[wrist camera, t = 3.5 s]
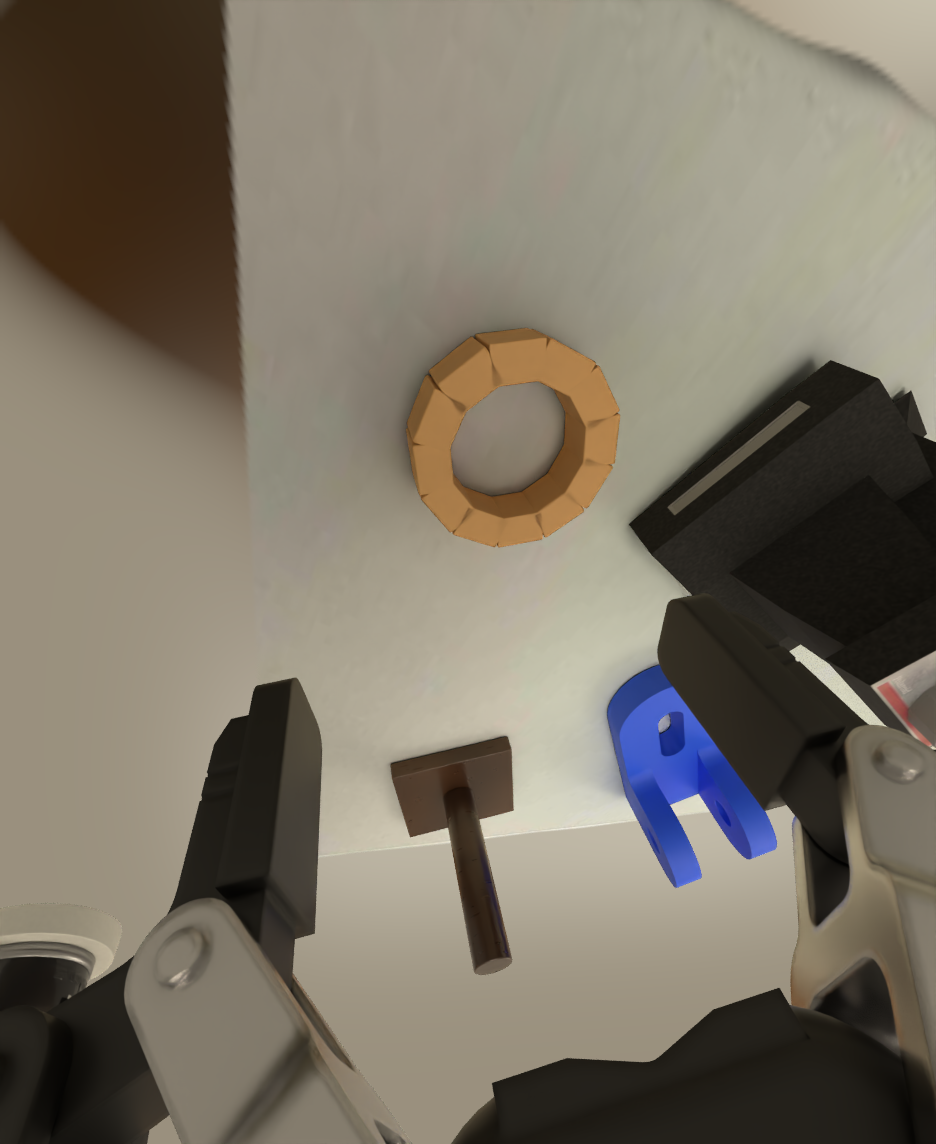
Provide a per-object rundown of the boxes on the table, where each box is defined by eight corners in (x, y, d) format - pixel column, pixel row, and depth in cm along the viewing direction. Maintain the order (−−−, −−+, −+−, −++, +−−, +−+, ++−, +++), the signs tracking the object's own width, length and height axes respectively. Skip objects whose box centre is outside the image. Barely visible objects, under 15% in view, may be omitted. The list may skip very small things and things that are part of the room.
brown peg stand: (408, 823, 40) (429, 1009, 31) (390, 763, 35) (408, 964, 25) (509, 797, 42) (560, 968, 32) (507, 736, 36) (567, 918, 27)
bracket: (705, 765, 46) (773, 863, 39) (626, 796, 46) (678, 899, 39) (704, 646, 35) (797, 751, 28) (600, 687, 35) (666, 802, 28)
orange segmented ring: (422, 535, 25) (428, 560, 23) (392, 344, 19) (398, 355, 17) (588, 506, 26) (607, 527, 24) (604, 317, 21) (631, 326, 19)
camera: (782, 730, 17) (1372, 411, 11) (622, 515, 28) (878, 299, 22) (895, 816, 25) (1270, 658, 19) (737, 624, 36) (946, 486, 30)
